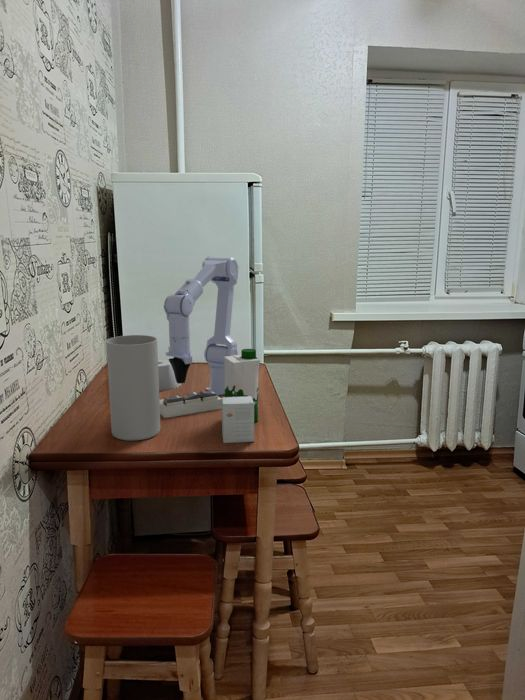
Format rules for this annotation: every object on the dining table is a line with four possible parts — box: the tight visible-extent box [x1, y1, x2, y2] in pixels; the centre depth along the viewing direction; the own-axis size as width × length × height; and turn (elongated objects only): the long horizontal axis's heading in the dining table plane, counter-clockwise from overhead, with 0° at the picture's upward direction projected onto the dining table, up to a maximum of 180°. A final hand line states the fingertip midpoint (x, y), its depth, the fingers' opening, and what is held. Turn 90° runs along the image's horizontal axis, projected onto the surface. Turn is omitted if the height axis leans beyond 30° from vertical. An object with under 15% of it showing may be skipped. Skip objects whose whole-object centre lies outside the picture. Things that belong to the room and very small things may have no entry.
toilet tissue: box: [158, 359, 182, 392], centre depth 177 cm, size 9×13×9 cm
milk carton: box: [224, 348, 261, 423], centre depth 144 cm, size 9×9×20 cm
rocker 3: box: [198, 390, 218, 398], centre depth 155 cm, size 4×3×2 cm, turn 119°
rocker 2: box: [182, 391, 200, 402], centre depth 152 cm, size 4×3×2 cm, turn 119°
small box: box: [221, 396, 255, 444], centre depth 132 cm, size 8×6×10 cm
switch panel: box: [159, 395, 222, 419], centre depth 155 cm, size 22×8×4 cm, turn 119°
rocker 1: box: [163, 394, 182, 404], centre depth 150 cm, size 4×3×2 cm, turn 119°
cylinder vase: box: [105, 334, 161, 442], centre depth 134 cm, size 12×12×25 cm
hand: (180, 382), depth 150 cm, fingers closed
